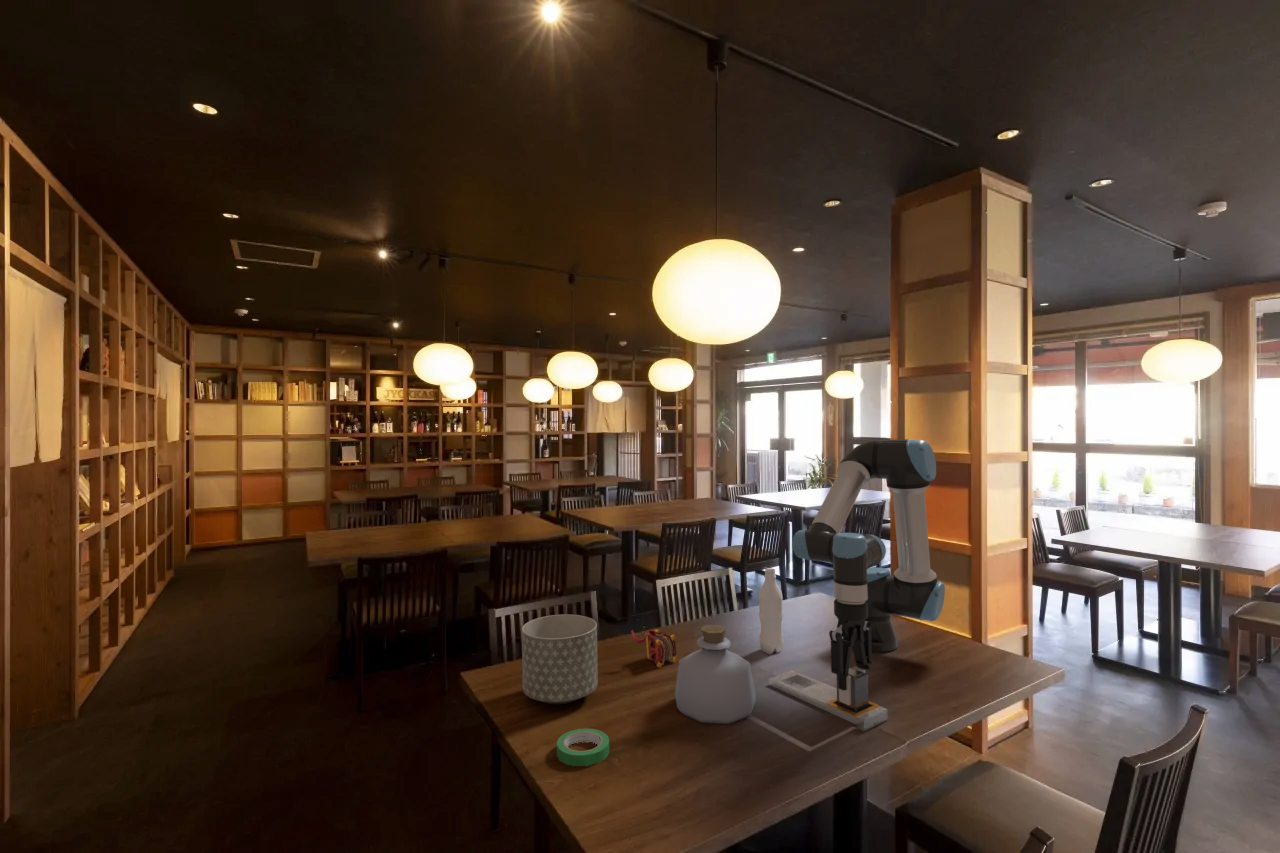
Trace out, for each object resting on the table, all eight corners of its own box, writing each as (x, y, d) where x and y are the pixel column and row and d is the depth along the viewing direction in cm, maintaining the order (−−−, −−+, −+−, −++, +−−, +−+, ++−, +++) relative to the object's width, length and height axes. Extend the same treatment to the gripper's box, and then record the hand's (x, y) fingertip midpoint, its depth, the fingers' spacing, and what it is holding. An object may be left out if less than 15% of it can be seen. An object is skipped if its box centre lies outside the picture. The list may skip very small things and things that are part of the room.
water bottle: (784, 656, 173) (782, 572, 173) (759, 655, 175) (758, 571, 175) (783, 648, 180) (781, 567, 181) (759, 646, 182) (758, 566, 182)
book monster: (679, 663, 169) (642, 673, 164) (664, 653, 177) (628, 663, 172) (676, 626, 169) (639, 636, 164) (661, 619, 177) (626, 627, 172)
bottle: (660, 696, 148) (659, 622, 148) (727, 683, 155) (726, 612, 156) (696, 733, 130) (695, 648, 130) (771, 716, 137) (769, 636, 137)
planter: (567, 675, 162) (566, 610, 162) (613, 696, 149) (612, 625, 149) (508, 697, 149) (507, 626, 149) (552, 723, 135) (551, 644, 136)
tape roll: (572, 736, 130) (572, 724, 130) (617, 745, 126) (617, 733, 126) (546, 762, 120) (546, 749, 120) (594, 773, 116) (594, 759, 116)
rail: (792, 679, 157) (792, 669, 157) (887, 719, 134) (887, 708, 134) (769, 687, 152) (769, 677, 152) (864, 731, 129) (863, 719, 129)
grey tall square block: (850, 700, 140) (849, 666, 140) (868, 708, 136) (867, 672, 136) (837, 706, 137) (836, 671, 138) (855, 714, 133) (854, 678, 133)
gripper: (859, 590, 145) (861, 684, 145) (812, 603, 135) (814, 704, 135) (887, 596, 139) (889, 694, 139) (840, 610, 129) (842, 716, 129)
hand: (852, 699), depth 137 cm, fingers closed on grey tall square block, 5 cm apart
